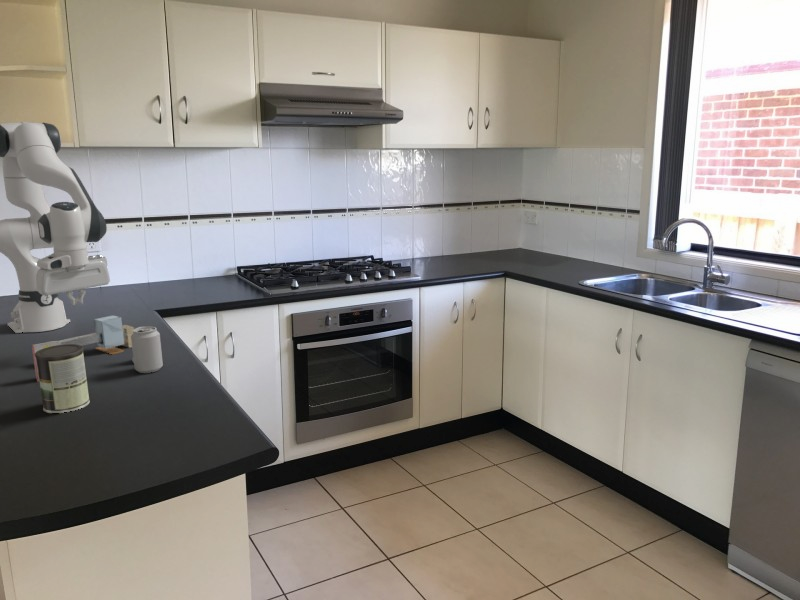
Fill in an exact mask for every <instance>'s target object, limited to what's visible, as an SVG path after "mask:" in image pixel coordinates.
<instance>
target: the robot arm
mask: <svg viewBox="0 0 800 600" xmlns="http://www.w3.org/2000/svg"><path fill="white" fill-rule="evenodd" d="M61 146H62V137H61V134H60V132H59V129H58V128H57V127H56V126H55V124H51V123H48V122H41V123H40V122H30V121H20V122H4V123H0V158H2V174H3V175H2V176H3V182H4V183H3V184H4V189H5V198H6V200H7V201H8V202H9V203H10V204H11V205H14V206H15V207H18V208H19V209H23V210H25V211H27V212H29V215H30V216H28V217H15V218H5V219H1V220H0V253H1V254H2V255H3V256H5V257H6V258H8V260H9V261H10V262H11V264H12V265H13V267H14V269H15V273H16V276H17V280H18V286H19V289H18V295H17V296H18V300H19V301H18V303H17V304H16V305H15V306H14V308H13V311H11V312H9V316H10V319H11V320H13V321H10V322H7V327H8V326H9V327H10V328H11V329H12V330H13V331H14V332H15V334H19V333H20V334H23V333H39V332H49V331H53V330H57V329H60V328H63V327H65V326H66V325H67V324H70V323H71V319H70V318H67V316H66V315H67V314H66V311H65V306H64V302H63V300H61V299H60V298H58V297H59V294H63V293H65V295H66V296H67V298H68V299H69V300H70V305H71V306H78V305H82V304H84V297H85V295H86V293H87V290H86V289H90V288H95V287H102V286H106V285H109V283H110V282H111V278H110V273H109V272H110V271H109V269H108V260H107V258H106V256H104V255H102V254H96V255H89V252H88V246H87V244H86V243H98V242H100V240H102V239H103V238H104V237H105V235H106V233H107V232H108V231H107V230H108V229H107V228H108V227H107V223H106V219H105V217H104V215H103V214H102V212H100V210H99V209H98V208H97V206H96V204H95V203H94V201H93V200H92V198H91V196H90V194H89V193H88V191H87V188H86V187H85V185H84V184H83V181H82V180H81V178H80V177H79V175H78V174H77V172H76V171H75V170H74V168H71V167H70V166H68V165H67V164H65V163H64V162H63V161H62V160H61V159H60V158H59V157H58V155H57V153H58V152H60V150H61ZM43 186H47V187H52V188H55V189H59V190H61V191H63V192H65V193H67V194H68V195H69V196H70V198H71V199H72V200H73V202H69V201H58V202H55V203H52V204H51V205H49V204H48V202H47V199H46V197H45V193H44V187H43ZM50 248H51V249H53V253H51V254H48V255H46V256H45V257H41V258H38V257H35V256H33V255H32V254H31V250H32V251H33V250H38V249H39V250H41V249H50ZM74 291H78V292H79V293H78V295H77V297H74V296H73V295H74ZM69 322H70V323H69ZM9 327H8V328H9ZM10 328H9V329H10ZM11 329H10V330H11ZM12 330H11V331H12ZM13 331H12V332H13ZM14 332H13V333H14ZM22 332H23V333H22Z"/></svg>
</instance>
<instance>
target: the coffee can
mask: <svg viewBox="0 0 800 600" xmlns="http://www.w3.org/2000/svg"><path fill="white" fill-rule="evenodd" d="M83 346H84V345H83ZM83 346H81V345H76V344H64V345H56V346H51V347H47V348H44V349H41V350H39V351H37V352H36V353H35V357H36V361H37V367H38V374H39V381H40V382H39V386H40V393H41V401H42V410H43V412H45V413H48V414H52V413H59V414H65V413H64V412H67V413H71V412H70V411H72V412H75V410H76V411H78V409H79V410H82V409H83V408H85V407H87V406H88V405H89V404H90V402H91V401H90V396H89V387H88V386H89V385H88V380H87V372H86V371H87V370H86V364H85V357H84V347H83ZM81 408H82V409H81Z"/></svg>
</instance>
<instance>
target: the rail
mask: <svg viewBox="0 0 800 600" xmlns="http://www.w3.org/2000/svg"><path fill="white" fill-rule="evenodd" d="M122 329H123V337H124V345H121V346H122V347H126V348H132V341H131V335H132V334H133V333H134V332H133V330H134V329H135V327H134V326H131V325H128V324H122ZM54 341H55V340H51V341H49V342H54ZM59 341H60V345H64V344H76V345H81V346H87V345H91V344H94V343H96V344H97V342H100V341H103V336H102V334H101V333H98V332H96V333H95V332H92V333H88V334H84V335H79V336H73V337H69V338H65V339H61V340H59ZM47 342H48V341H46V342H45V343H47ZM95 350H98V351H100V352H103V353H106V354H108V353H109V354H108V355H111V354H112V355H116V354H120V353H123V352H125V350H124V349H123V348H122V349H121V348H118V347H117V346H115V347H111V348H107V349H105V348H102V347H99V346H97V347H95Z"/></svg>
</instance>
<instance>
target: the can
mask: <svg viewBox="0 0 800 600" xmlns="http://www.w3.org/2000/svg"><path fill="white" fill-rule="evenodd" d="M139 327H140V328H138V327H135V328H134V330H133V332H134V333H133V334H132V335H131V341H132V347H131V348H132V349H131V351H132V359H134V363H133V366H134V370H135V371H136V372H138V373H140V374H149V373H150V374H151V372H152V373H155V372H158V371H160V370H161V368H162V367H163V365H164V363H163V354H162V343H161V334H160V332H159V331H158V330H157V327H156V326H139Z"/></svg>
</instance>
